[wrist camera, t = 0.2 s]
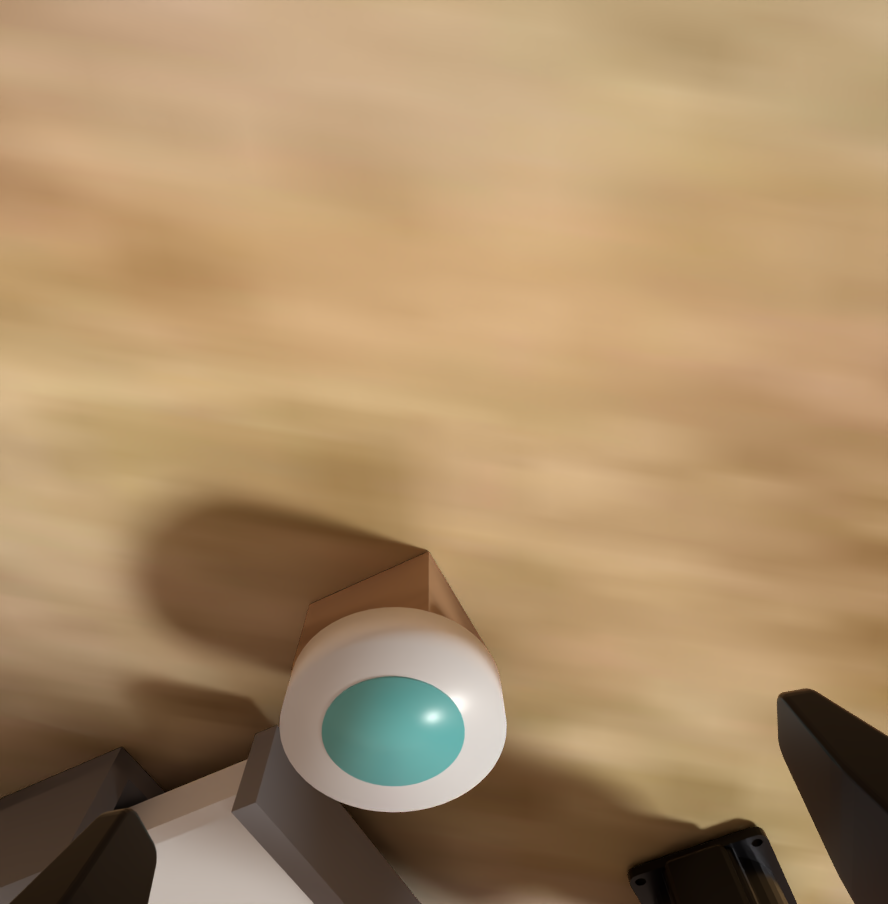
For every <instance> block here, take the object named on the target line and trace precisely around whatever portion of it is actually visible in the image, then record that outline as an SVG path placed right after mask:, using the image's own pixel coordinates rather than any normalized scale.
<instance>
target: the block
mask: <svg viewBox="0 0 888 904" xmlns="http://www.w3.org/2000/svg"><path fill="white" fill-rule="evenodd" d="M383 607H404V608H415V609H419V610H424V611H427V612H432V613H435V614H438V615H441V616H444V617H446V618H448V619H450V620H453V621H455V622H456V623H458V624H460V625H461V626H463V627H465V628H466V629H467V630H469V631H470V632H471V633H472V634H474V635H475V636H476V637H477V638H478V639H479V640H480V641H481V642H482V643H483V641H482V640H481V638H480V636H479V634H478V633H477V631H476V629H475V628H474V626H473V624H472V623H471V621H470V619H469V618H468V616H467V614H466V613H465V611H464V609H463V608H462V606H461V604H460V603H459V601H458V599H457V598H456V596H455V594H454V593H453V591H452V589H451V588H450V586H449V584H448V583H447V581H446V579H445V578H444V576H443V574H442V573H441V571H440V569H439V568H438V566H437V564H436V563H435V561H434V559H433V558H432V556H431V554H430V552H426V553H424V554H422V555H420V556H417V557H415V558H413V559H411V560H408V561H406V562H404V563H402V564H399V565H397V566H395V567H393V568H390V569H388V570H386V571H384V572H381V573H379V574H377V575H375V576H372V577H370V578H368V579H366V580H363V581H361V582H359V583H357V584H354V585H352V586H350V587H348V588H345V589H343V590H341V591H339V592H337V593H334V594H332V595H330V596H328V597H325V598H323V599H321V600H319V601H316V602H314V603H312V604H310V605H309V608H308V612H307V615H306V619H305V623H304V626H303V630H302V633H301V637H300V640H299V644H298V648H297V651H296V655H295V658H294V662H293V665H292V669H291V670H293V667H294V664H295V662H296V659H297V658H298V656H299V654H300V653H301V651H302V649H303V648H304V647H305V646H306V644H307V643H308V642H309V641H310V640H311V639H312V638H313V637H314V636H315V635H316V634H317V633H318V632H319V631H321V630H322V629H324V628H325V627H327V626H328V625H330V624H331V623H333V622H335V621H337V620H339V619H341V618H343V617H346V616H348V615H351V614H354V613H357V612H361V611H365V610H369V609H376V608H383ZM483 644H484V643H483ZM485 647H486V646H485Z"/></svg>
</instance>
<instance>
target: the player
mask: <svg viewBox="0 0 888 904" xmlns="http://www.w3.org/2000/svg"><path fill="white" fill-rule="evenodd" d="M163 793H165V792H164V791H163V790H162V789H161V788H160V787H159V786H158V785H157V783H156V782H155V781H154V780H153V779H152V778H151V777H150V776H149V775H148V774H147V773H146V772H145V771H144V770H143V769H142V768H141V767H140V765H139V764H138V763H137V762H136V761H135V760H134V759H133V758H132V757H131V756H130V755H129V754H128V753H127V752H126V751H125V750H124V749H123V748H122V747H120V748H118V749H116V750H113V751H111V752H109V753H106V754H104V755H102V756H99V757H97V758H95V759H92V760H90V761H88V762H85V763H83V764H81V765H78V766H76V767H74V768H71V769H69V770H67V771H64V772H62V773H60V774H57V775H55V776H53V777H50V778H48V779H46V780H43V781H41V782H39V783H36V784H34V785H32V786H29V787H27V788H25V789H22V790H20V791H18V792H15V793H13V794H11V795H8V796H6V797H4V798H1V799H0V904H9V903H10V902H11V901H12V900H13V899H14V898H15V897H16V896H17V895H18V894H19V893H20V892H21V891H22V890H23V889H24V888H25V887H27V886H28V885H29V884H30V883H31V882H32V881H33V880H34V879H35V878H36V877H37V876H38V875H39V874H40V873H41V872H42V871H43V870H44V869H45V868H46V867H47V866H48V865H49V864H50V863H51V862H52V861H53V860H54V859H55V858H56V857H57V856H58V855H59V854H60V853H61V852H62V851H63V850H64V849H65V848H66V847H67V846H68V845H69V844H70V843H71V842H72V841H73V840H74V839H75V838H76V837H77V836H79V835H80V834H81V833H82V832H83V831H84V830H85V829H86V828H87V827H88V826H89V825H90V824H91V823H92V822H93V821H94V820H95V819H96V818H97V817H98V816H99V815H101V814H102V813H105V812H107V811H113V810H118V809H124V808H129V807H132V806H134V805H136V804H139V803H141V802H144V801H146V800H149V799H151V798H154V797H156V796H158V795H161V794H163Z"/></svg>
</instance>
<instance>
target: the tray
mask: <svg viewBox="0 0 888 904" xmlns="http://www.w3.org/2000/svg"><path fill="white" fill-rule="evenodd" d="M129 808H131V809H133V810H135V811H136V812H137V814H138V815H139V817H140V819H141V821H142V822H143V824H144V826H145V828H146V830H147V831H148V833H149V835H150V837H151V838H152V840H153V842H154V844H155V847H156V852H157V863H156V869H155V873H154V878H153V883H152V888H151V892H150V897H149V902H148V904H421V903H420V902H419V901H418V899H417V898H416V897H415V896H414V894H413V893H412V892H411V891H410V889H409V888H408V887H407V886H406V884H405V883H404V882H403V881H402V879H401V878H400V877H399V876H398V874H397V873H396V872H395V871H394V870H393V868H392V867H391V866H390V865H389V863H388V862H387V861H386V860H385V858H384V857H383V856H382V855H381V853H380V852H379V851H378V850H377V848H376V847H375V846H374V845H373V843H372V842H371V841H370V840H369V838H368V837H367V836H366V835H365V833H364V832H363V831H362V830H361V828H360V827H359V826H358V825H357V824H356V822H355V821H354V820H353V819H352V817H351V816H350V815H349V814H348V812H347V811H346V810H345V809H344V807H343V806H342V805H341V804H340V802H339V801H337V800H335V799H333V798H331V797H329V796H326V795H325V794H323V793H322V792H320V791H318V790H317V789H315V788H314V787H313V786H312V785H310V784H309V783H308V782H307V781H305V780H304V779H303V777H302V776H301V775H300V774H299V773H298V772H297V771H296V770H295V768H294V767H293V765H292V764H291V763H290V761H289V759H288V757H287V755H286V753H285V751H284V748H283V745H282V742H281V737H280V729H279V727H278V725H276V726H274V727H271V728H269V729H267V730H264V731H262V732H259V733H257V734H255V737H254V740H253V744H252V747H251V750H250V753H249V756H248V759H246V760H244V761H242V762H239V763H237V764H234V765H232V766H229V767H227V768H224V769H222V770H220V771H217V772H215V773H212V774H210V775H207V776H205V777H202V778H200V779H198V780H195V781H193V782H190V783H188V784H185V785H183V786H180V787H178V788H176V789H173V790H171V791H168V792H166V793H163V794H161V795H158V796H156V797H154V798H151V799H149V800H146V801H144V802H141V803H139V804H136V805H134V806H132V807H129Z"/></svg>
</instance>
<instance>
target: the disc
mask: <svg viewBox="0 0 888 904" xmlns="http://www.w3.org/2000/svg"><path fill="white" fill-rule="evenodd" d="M506 727H507V723H506V716H505V709H504V702H503V695H502V687H501V680H500V675H499V672H498V668H497V665H496V663H495V661H494V659H493V657H492V655H491V654H490V652H489V651H488V650H487V648H486V647H485V645H484V644H483V643H482V642H481V641H480V640H479V639H478V638H477V637H476V636H475V635H474V634H472V633H471V632H470V631H469V630H467V629H466V628H465V627H463V626H461V625H460V624H458V623H456V622H455V621H453V620H450V619H448V618H446V617H444V616H441V615H438V614H435V613H432V612H427V611H424V610H419V609H415V608H404V607H383V608H376V609H369V610H365V611H361V612H357V613H354V614H351V615H348V616H346V617H343V618H341V619H339V620H337V621H335V622H333V623H331V624H330V625H328V626H327V627H325V628H324V629H322V630H321V631H319V632H318V633H317V634H316V635H315V636H314V637H313V638H312V639H311V640H310V641H309V642H308V643H307V644H306V646H305V647H304V648H303V649H302V651H301V653H300V654H299V656H298V658H297V659H296V662H295V664H294V667H293V670H292V673H291V677H290V680H289V684H288V688H287V691H286V695H285V698H284V702H283V706H282V710H281V715H280V728H279V729H280V737H281V742H282V745H283V748H284V751H285V753H286V755H287V757H288V759H289V761H290V763H291V764H292V765H293V767H294V768H295V770H296V771H297V772H298V773H299V774H300V775H301V776H302V777H303V779H304V780H305V781H307V782H308V783H309V784H310V785H312V786H313V787H314V788H315V789H317V790H318V791H320V792H322V793H323V794H325V795H326V796H329V797H331V798H333V799H335V800H337V801H339V802H342V803H344V804H347V805H350V806H354V807H357V808H361V809H366V810H372V811H380V812H408V811H417V810H422V809H427V808H431V807H435V806H438V805H441V804H444V803H446V802H449V801H451V800H453V799H456V798H458V797H459V796H461V795H463V794H464V793H466V792H468V791H469V790H471V789H472V788H473V787H475V786H476V785H477V784H479V783H480V782H481V781H482V780H483V779H484V778H485V777H486V776H487V775H488V773H489V772H490V771H491V770H492V768H493V767H494V766H495V764H496V762H497V761H498V759H499V757H500V755H501V752H502V750H503V747H504V743H505V738H506Z"/></svg>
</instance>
